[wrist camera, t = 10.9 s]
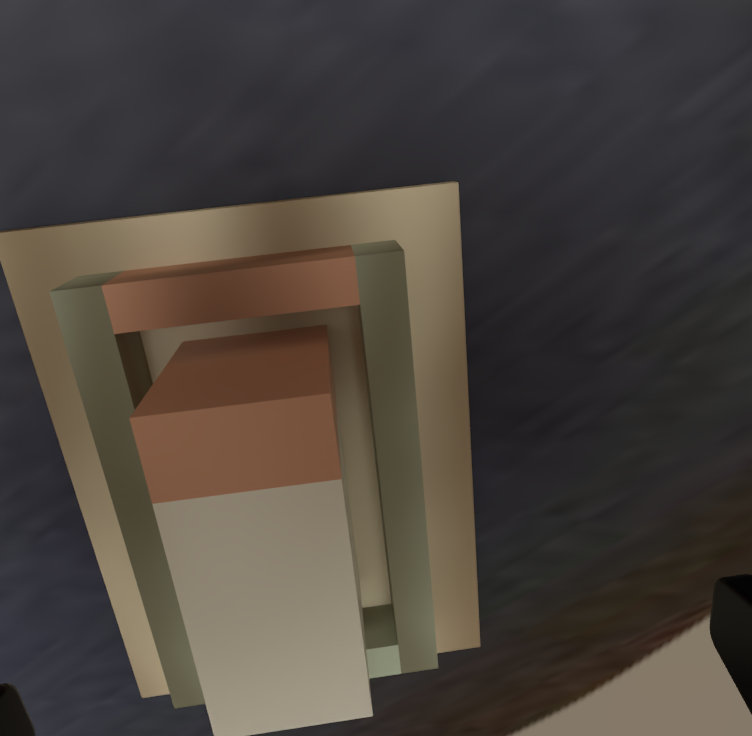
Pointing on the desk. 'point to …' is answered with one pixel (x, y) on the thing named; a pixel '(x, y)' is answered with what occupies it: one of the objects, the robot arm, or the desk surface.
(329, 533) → the banded block
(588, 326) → the desk surface
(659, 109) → the desk surface
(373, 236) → the slot holder
